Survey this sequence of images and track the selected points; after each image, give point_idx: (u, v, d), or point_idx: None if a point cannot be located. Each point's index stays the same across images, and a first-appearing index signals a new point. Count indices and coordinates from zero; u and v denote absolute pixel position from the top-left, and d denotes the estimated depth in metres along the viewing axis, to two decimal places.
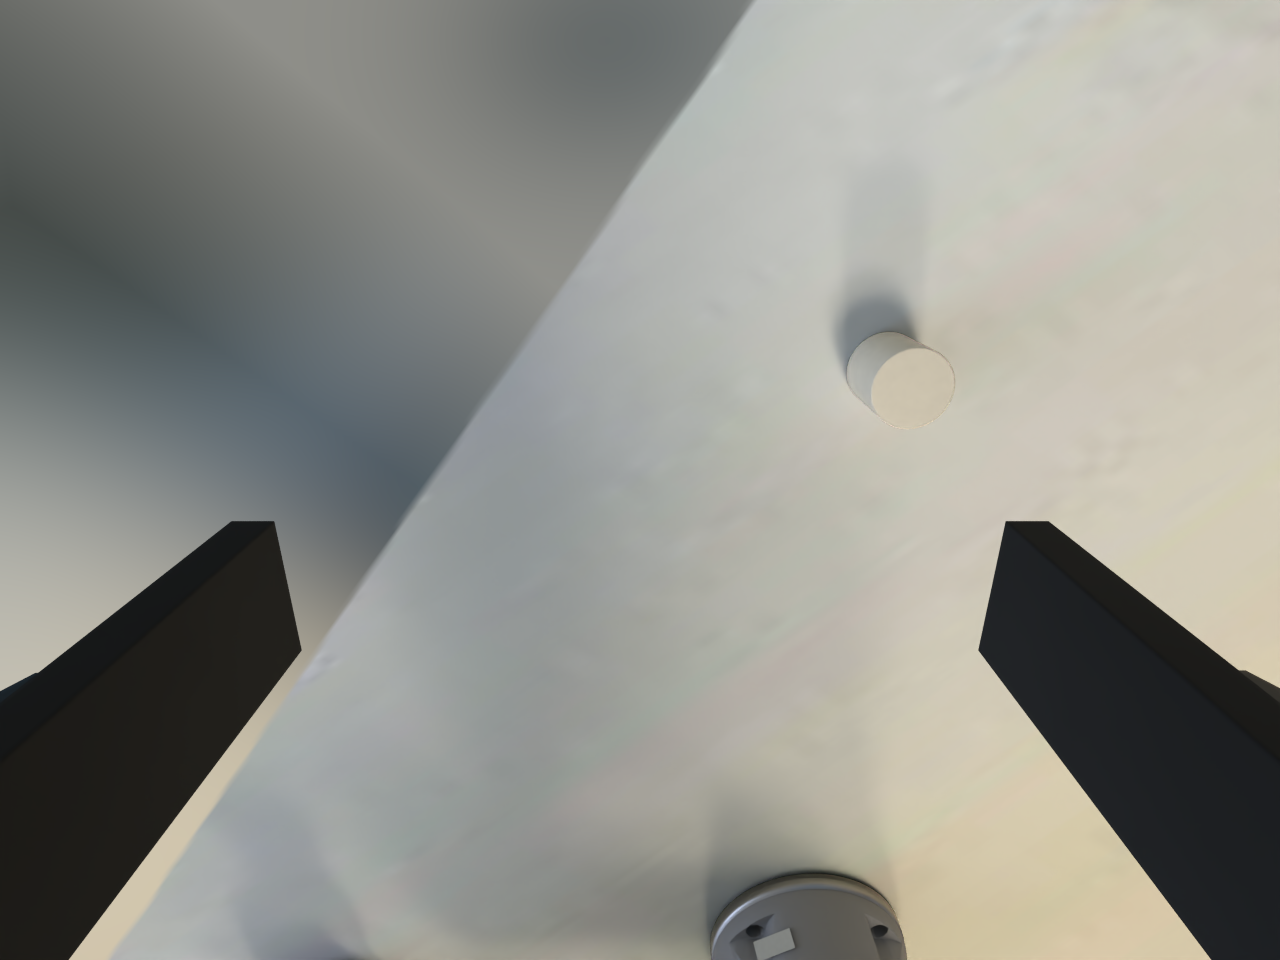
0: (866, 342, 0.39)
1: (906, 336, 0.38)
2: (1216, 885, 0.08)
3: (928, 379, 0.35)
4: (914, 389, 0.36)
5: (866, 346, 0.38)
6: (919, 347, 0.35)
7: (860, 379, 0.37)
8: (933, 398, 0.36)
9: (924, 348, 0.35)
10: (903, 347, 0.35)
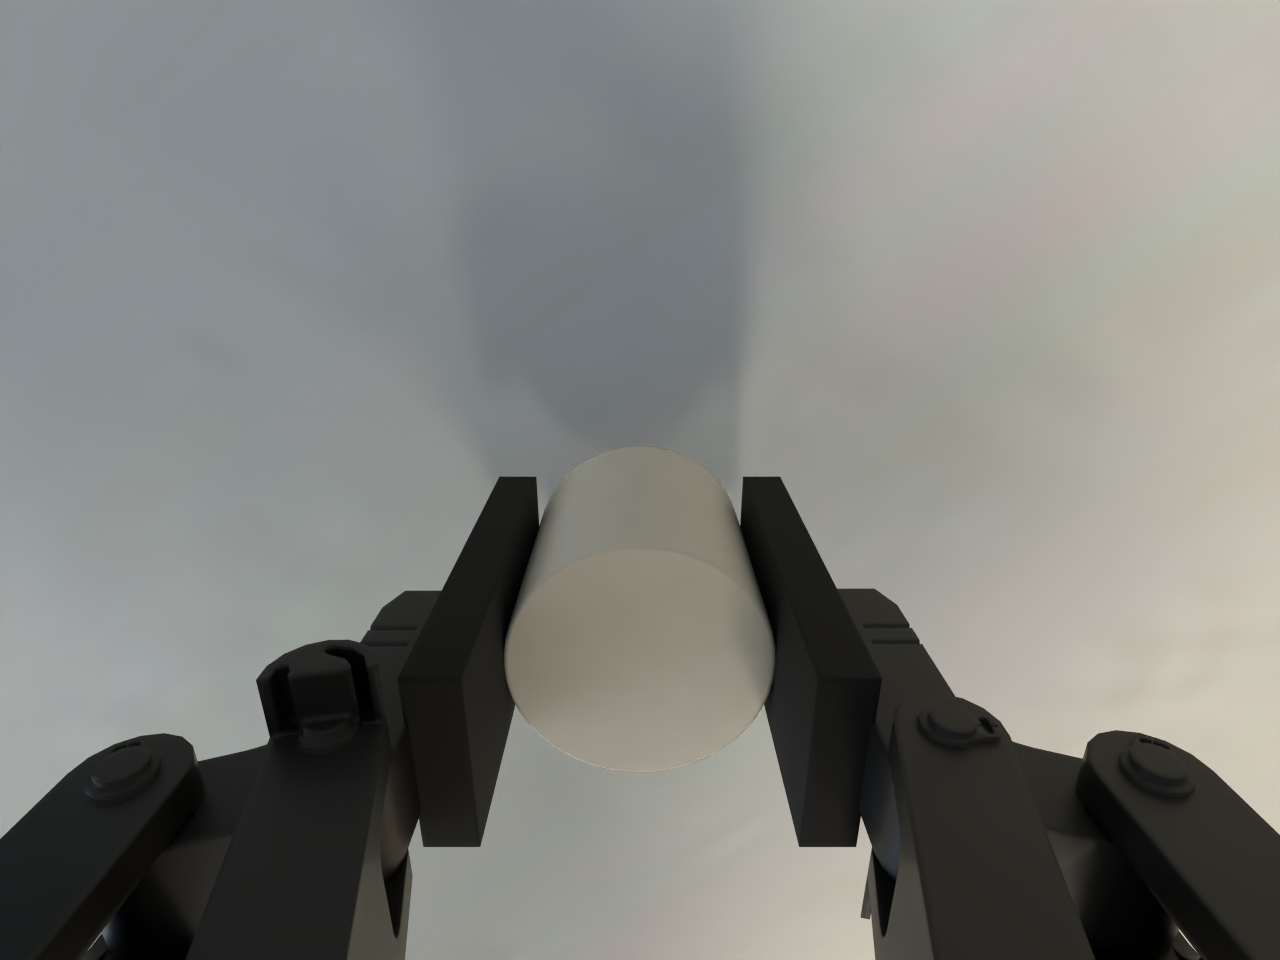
0: (570, 479, 0.14)
1: (672, 465, 0.14)
2: (790, 747, 0.10)
3: (685, 640, 0.11)
4: (643, 668, 0.11)
5: (560, 493, 0.14)
6: (642, 543, 0.10)
7: None
8: (710, 692, 0.11)
9: (658, 546, 0.10)
10: (599, 536, 0.11)
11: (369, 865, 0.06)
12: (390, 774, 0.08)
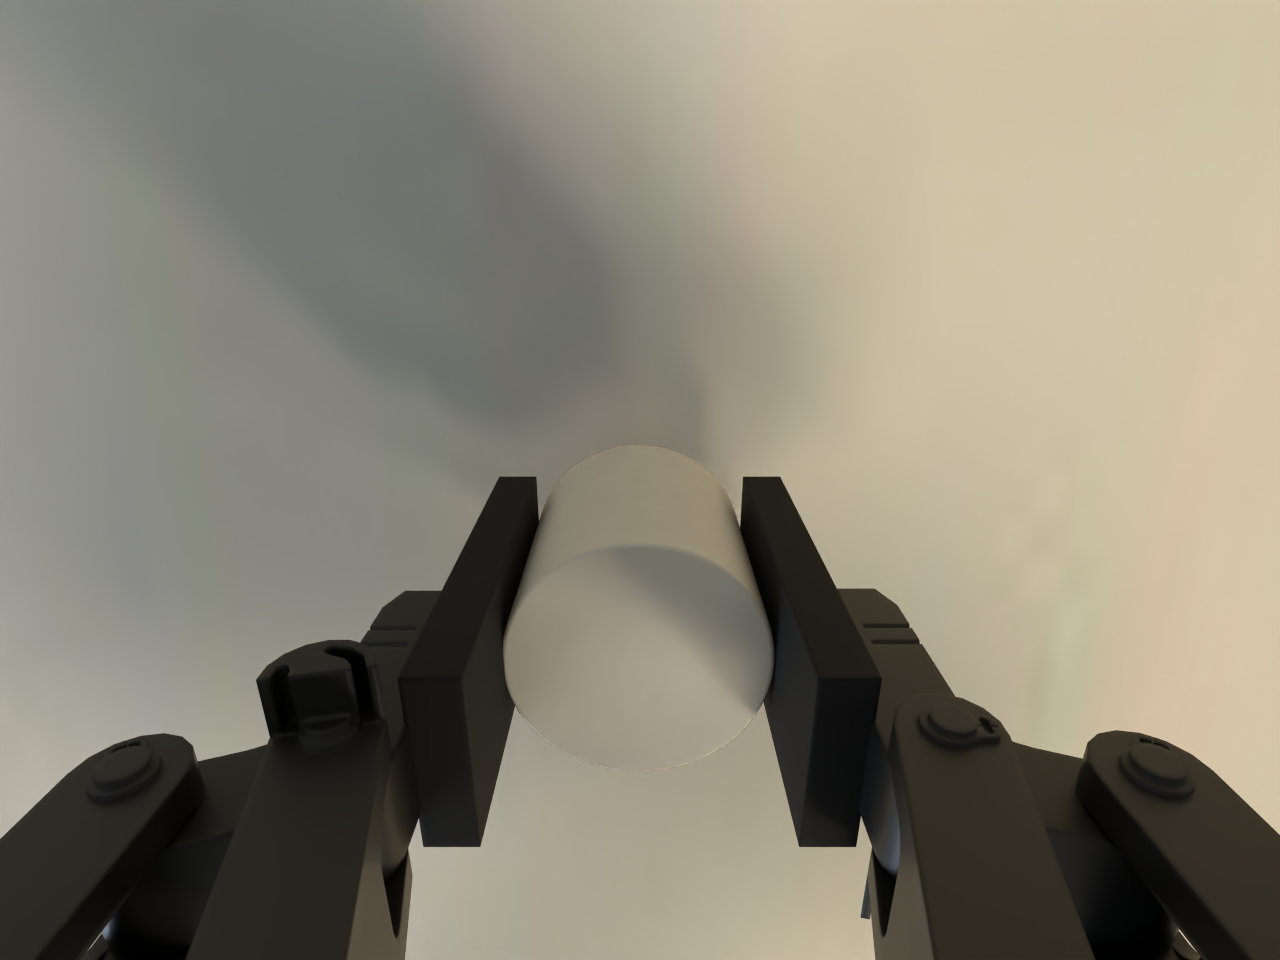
0: (568, 477, 0.14)
1: (671, 463, 0.13)
2: (790, 747, 0.10)
3: (683, 639, 0.11)
4: (641, 667, 0.11)
5: (558, 492, 0.14)
6: (640, 541, 0.10)
7: None
8: (708, 690, 0.11)
9: (656, 545, 0.10)
10: (596, 533, 0.11)
11: (369, 865, 0.06)
12: (390, 774, 0.08)
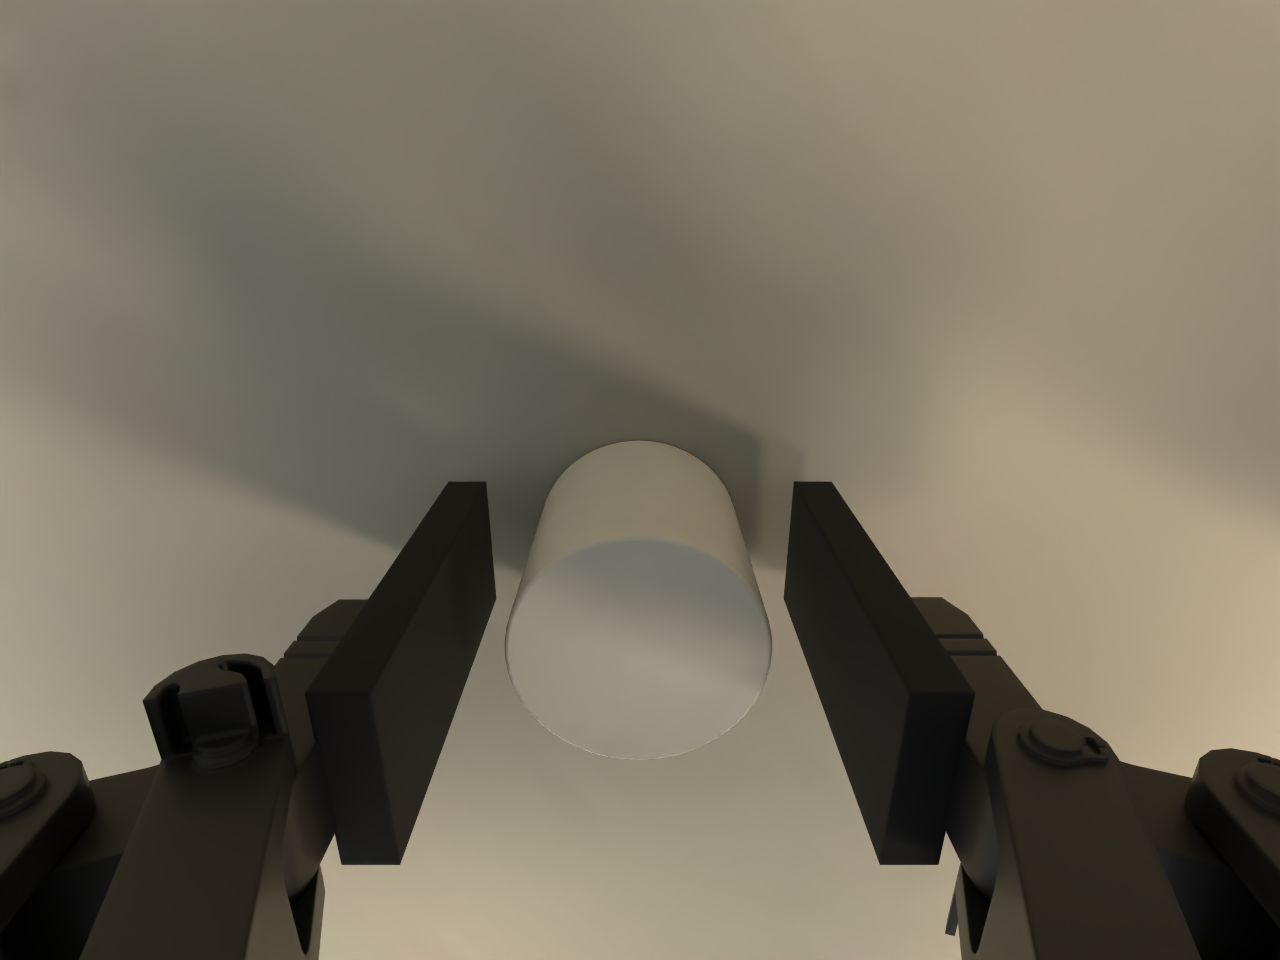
0: (570, 473, 0.14)
1: (671, 459, 0.14)
2: (867, 762, 0.10)
3: (682, 631, 0.11)
4: (641, 658, 0.11)
5: (560, 487, 0.14)
6: (640, 534, 0.10)
7: None
8: (707, 681, 0.11)
9: (656, 538, 0.10)
10: (598, 527, 0.11)
11: (269, 881, 0.06)
12: (292, 793, 0.08)
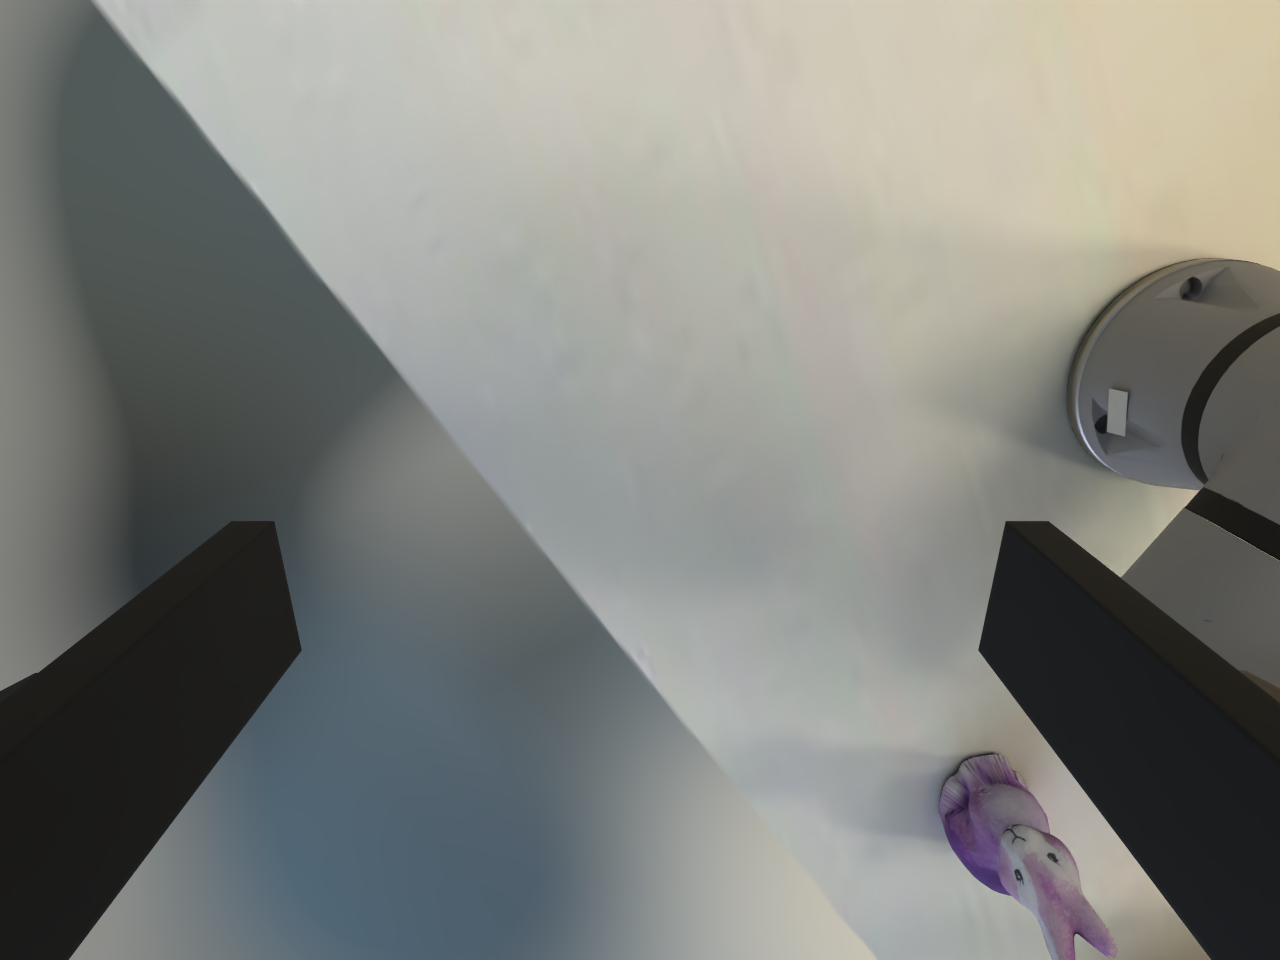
0: None
1: None
2: (1217, 886, 0.08)
3: None
4: None
5: None
6: None
7: None
8: None
9: None
10: None
11: None
12: None
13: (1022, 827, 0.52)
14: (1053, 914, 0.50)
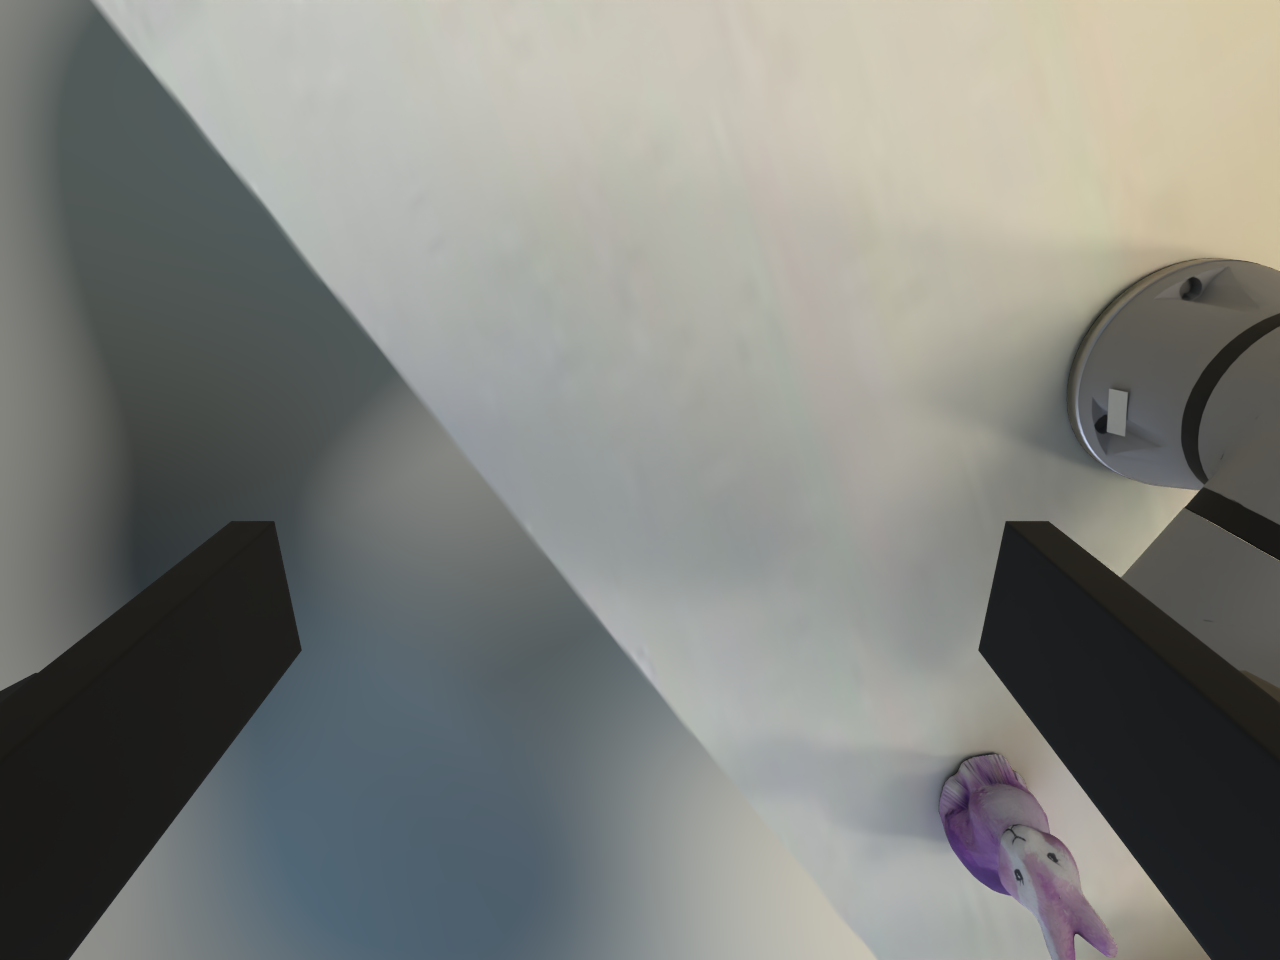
0: None
1: None
2: (1217, 886, 0.08)
3: None
4: None
5: None
6: None
7: None
8: None
9: None
10: None
11: None
12: None
13: (1022, 827, 0.52)
14: (1053, 914, 0.50)
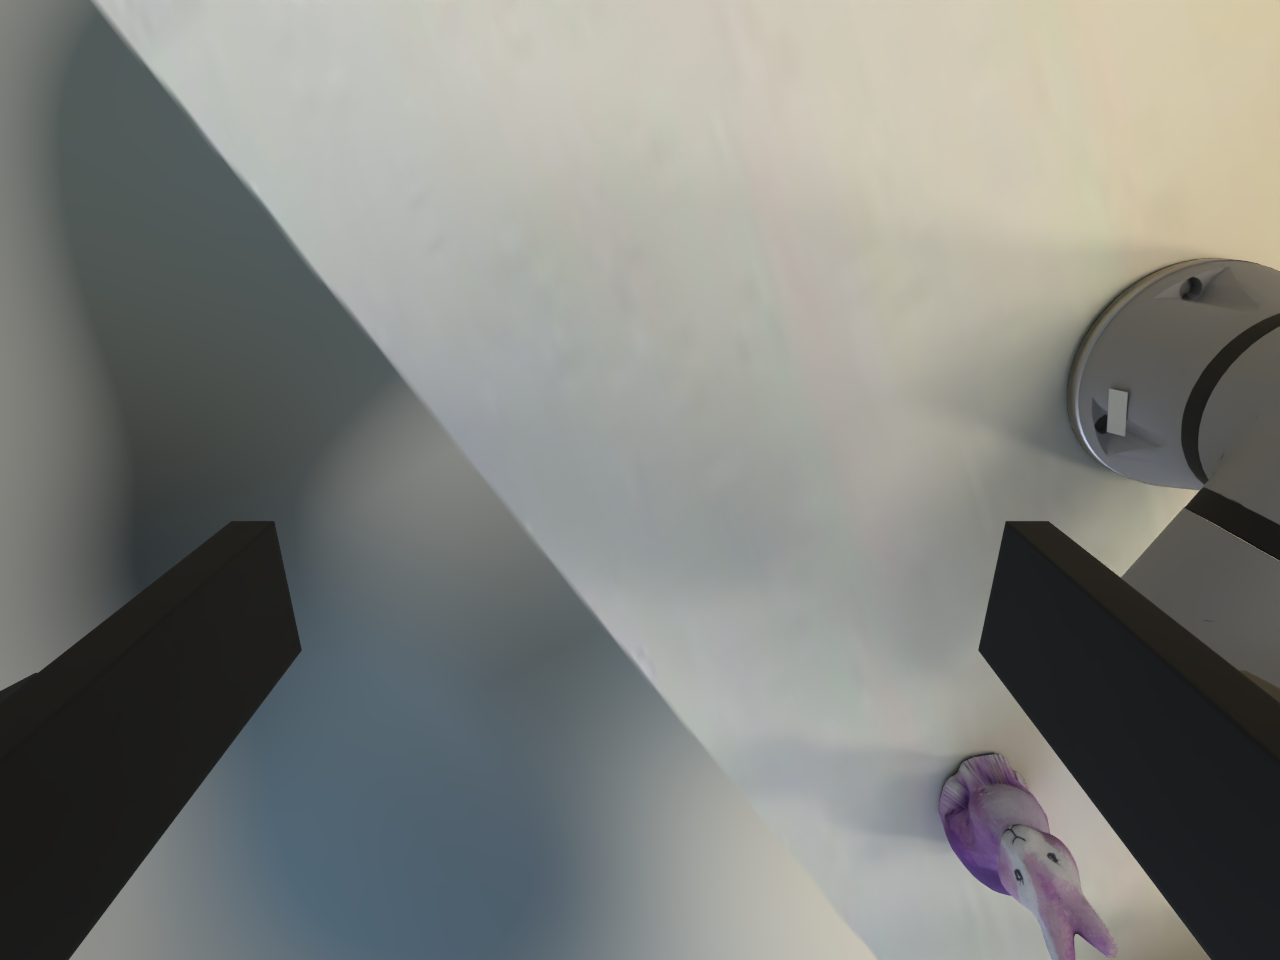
0: None
1: None
2: (1217, 886, 0.08)
3: None
4: None
5: None
6: None
7: None
8: None
9: None
10: None
11: None
12: None
13: (1022, 827, 0.52)
14: (1053, 914, 0.50)
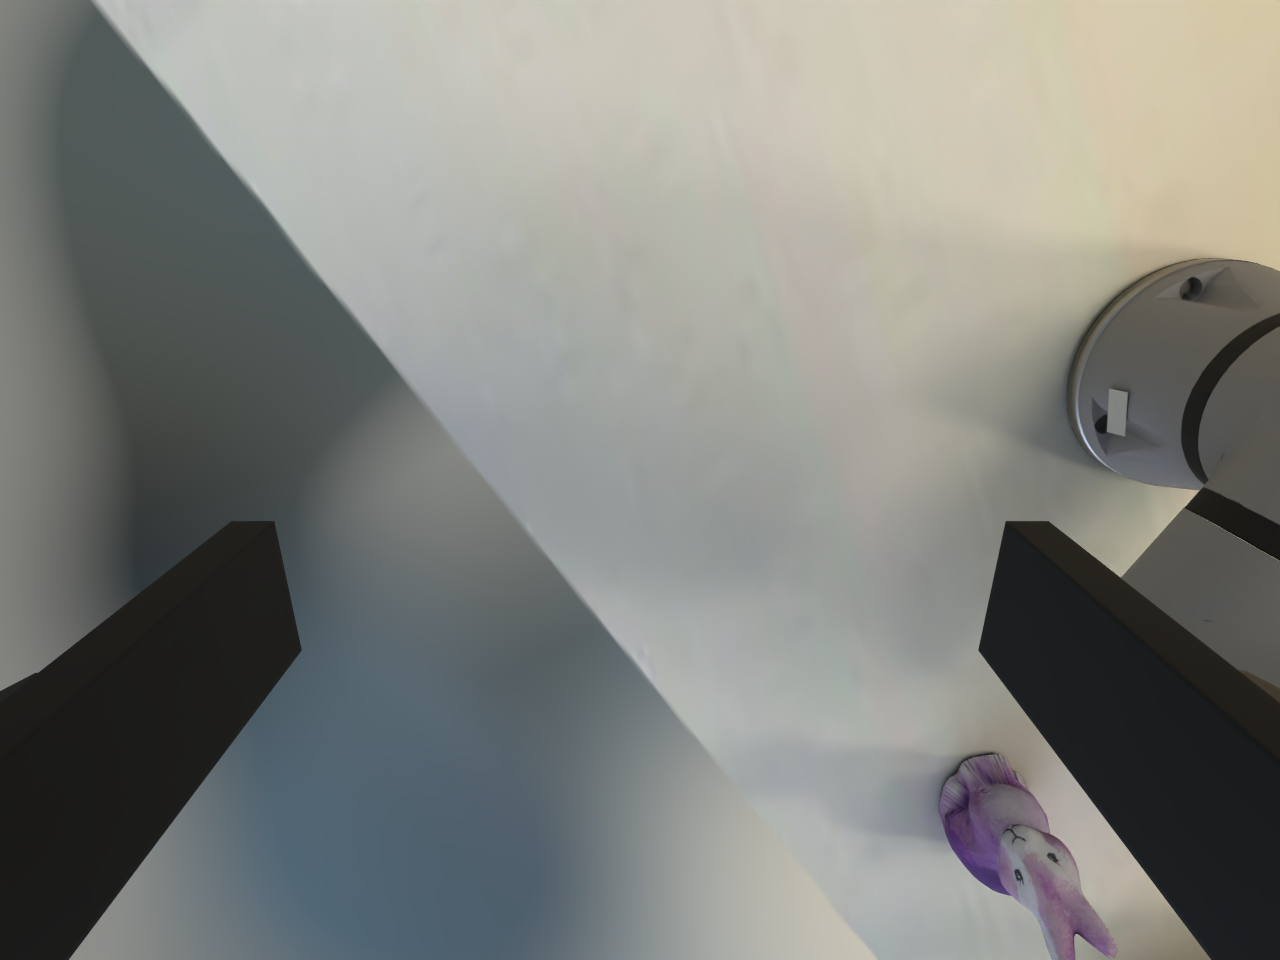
0: None
1: None
2: (1217, 886, 0.08)
3: None
4: None
5: None
6: None
7: None
8: None
9: None
10: None
11: None
12: None
13: (1022, 827, 0.52)
14: (1053, 914, 0.50)
